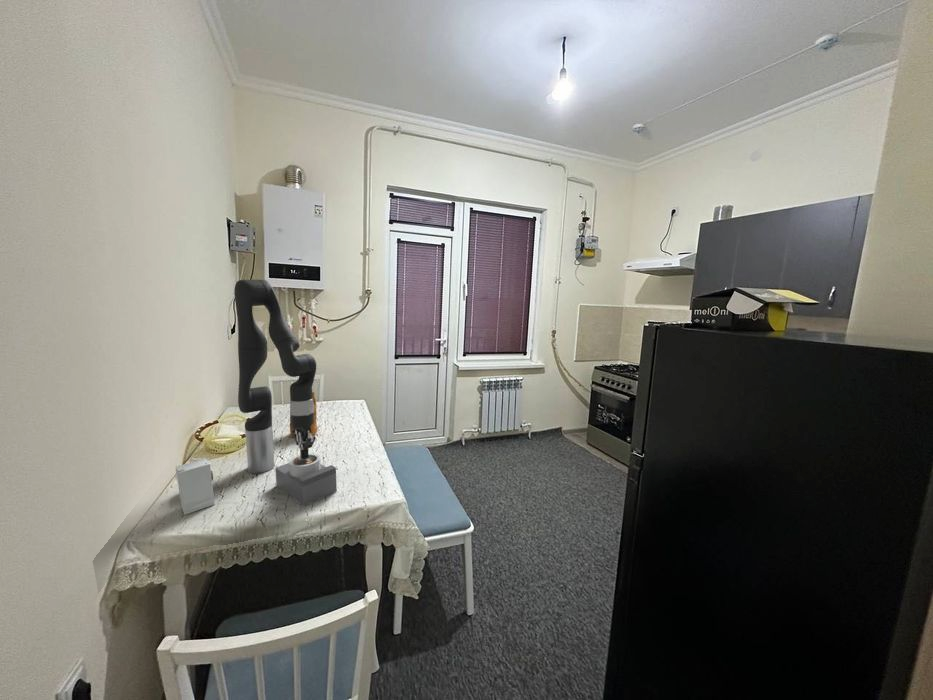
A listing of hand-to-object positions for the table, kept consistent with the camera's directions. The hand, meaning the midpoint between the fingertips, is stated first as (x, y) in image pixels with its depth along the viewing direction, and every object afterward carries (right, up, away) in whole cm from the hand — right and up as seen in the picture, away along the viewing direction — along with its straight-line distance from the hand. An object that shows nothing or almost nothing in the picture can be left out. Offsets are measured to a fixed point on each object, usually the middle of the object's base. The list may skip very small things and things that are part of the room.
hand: (304, 458), depth 122 cm
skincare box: (-30, -13, -10) cm, 34 cm away
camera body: (0, -12, +2) cm, 12 cm away
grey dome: (0, -5, +1) cm, 5 cm away
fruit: (-37, -11, 0) cm, 39 cm away
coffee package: (-24, -4, +50) cm, 56 cm away
